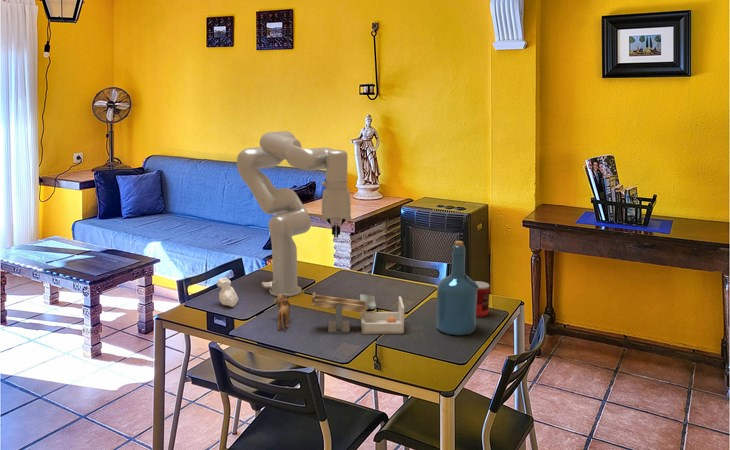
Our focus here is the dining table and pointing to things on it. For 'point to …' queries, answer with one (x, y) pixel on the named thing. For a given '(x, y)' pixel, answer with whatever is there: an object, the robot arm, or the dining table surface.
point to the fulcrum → (338, 322)
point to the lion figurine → (283, 310)
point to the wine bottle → (457, 298)
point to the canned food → (482, 299)
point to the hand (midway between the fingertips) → (336, 236)
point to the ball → (391, 319)
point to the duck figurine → (227, 292)
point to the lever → (344, 302)
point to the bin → (383, 321)
